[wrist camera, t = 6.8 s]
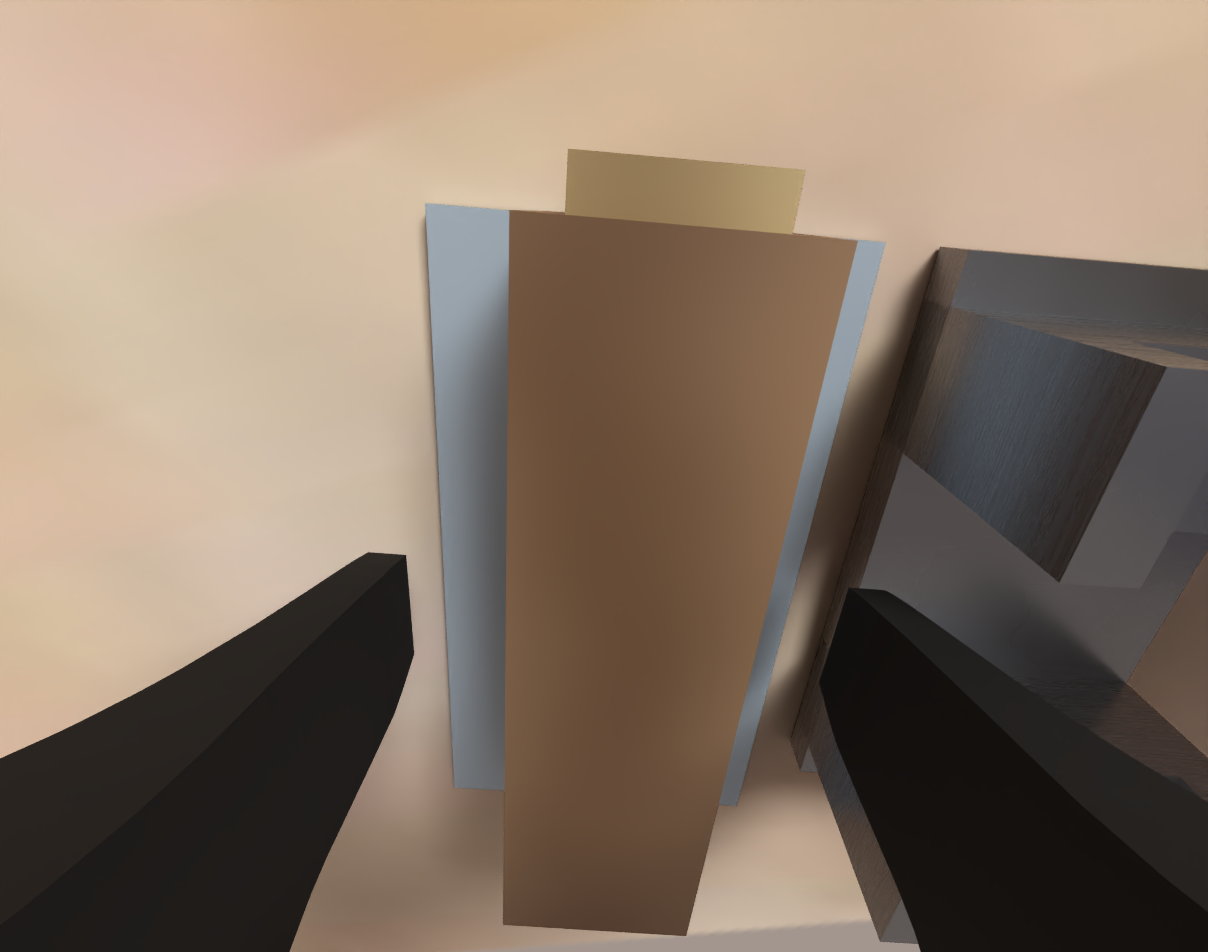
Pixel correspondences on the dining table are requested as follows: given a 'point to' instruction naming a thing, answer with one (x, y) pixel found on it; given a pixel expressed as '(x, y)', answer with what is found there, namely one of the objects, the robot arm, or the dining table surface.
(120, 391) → the dining table surface
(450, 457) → the mat
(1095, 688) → the stand
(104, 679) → the dining table surface
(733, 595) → the rail
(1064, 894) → the robot arm
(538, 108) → the dining table surface
